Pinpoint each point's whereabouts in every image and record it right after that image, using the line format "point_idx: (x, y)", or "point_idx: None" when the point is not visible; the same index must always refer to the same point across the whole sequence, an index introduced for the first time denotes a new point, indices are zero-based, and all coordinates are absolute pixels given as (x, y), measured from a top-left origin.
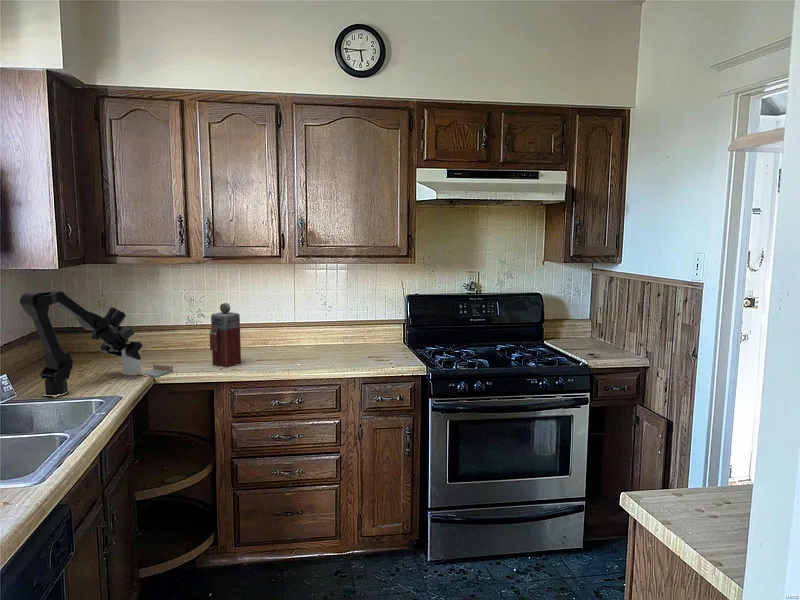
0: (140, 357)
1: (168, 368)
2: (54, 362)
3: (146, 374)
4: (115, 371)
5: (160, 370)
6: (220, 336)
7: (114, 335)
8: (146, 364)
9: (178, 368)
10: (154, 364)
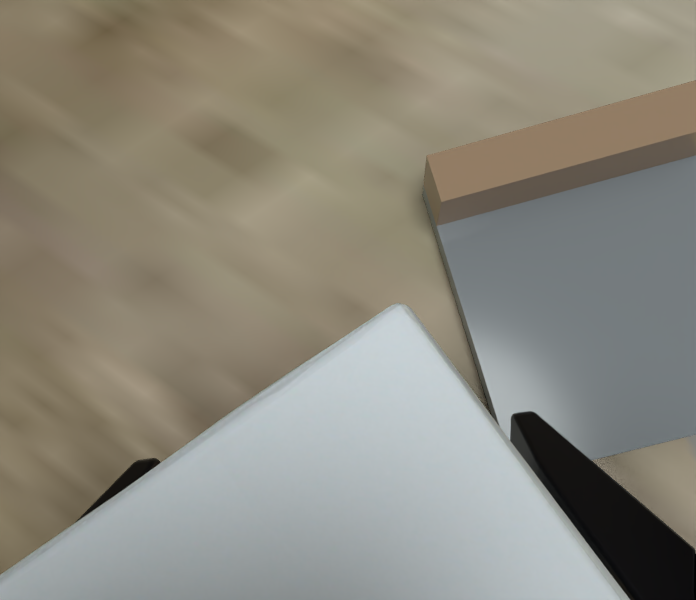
0: (552, 435)
1: (687, 148)
2: None
3: (635, 441)
4: (71, 506)
5: (579, 214)
6: None
7: None
8: (114, 118)
9: (563, 15)
10: (453, 186)
